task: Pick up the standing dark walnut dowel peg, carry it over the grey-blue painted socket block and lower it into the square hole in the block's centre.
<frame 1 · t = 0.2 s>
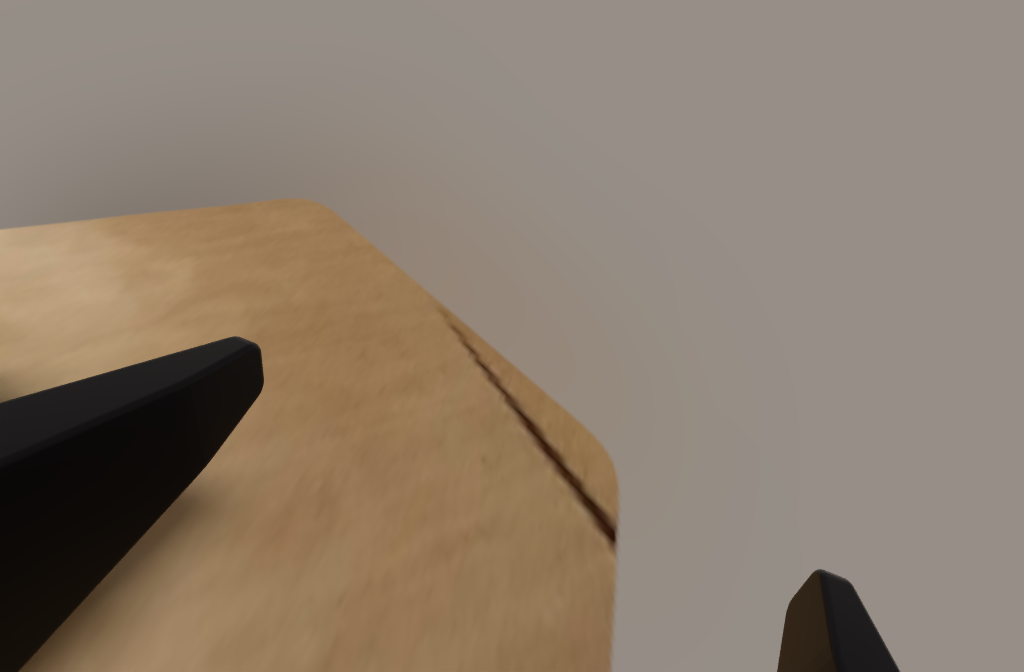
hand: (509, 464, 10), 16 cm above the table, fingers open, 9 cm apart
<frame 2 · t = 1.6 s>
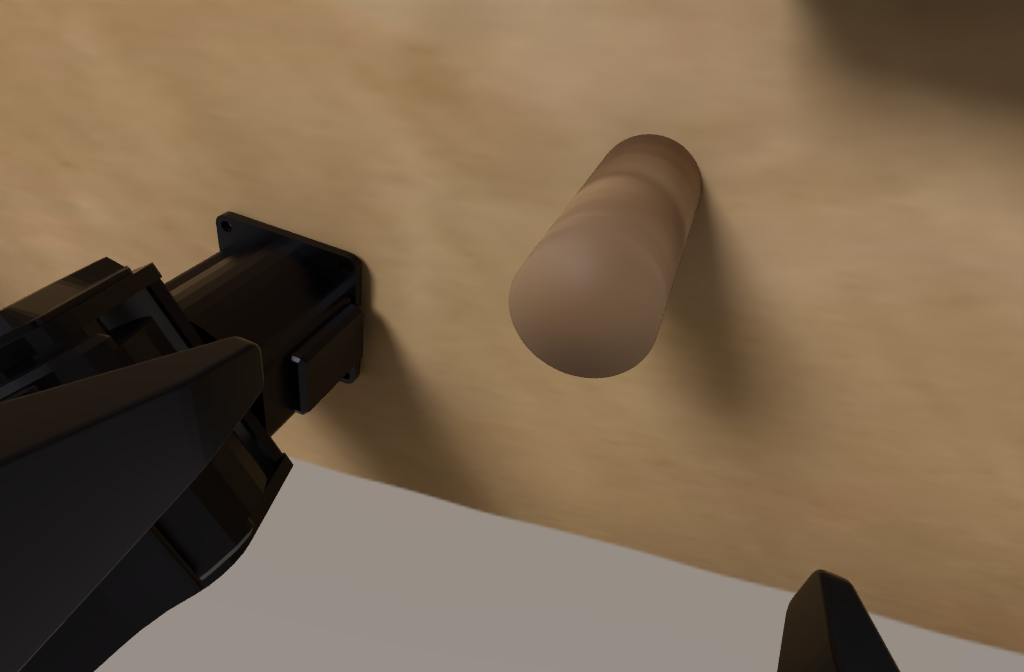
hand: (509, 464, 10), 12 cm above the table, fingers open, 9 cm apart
peg: (647, 187, 19), on the table
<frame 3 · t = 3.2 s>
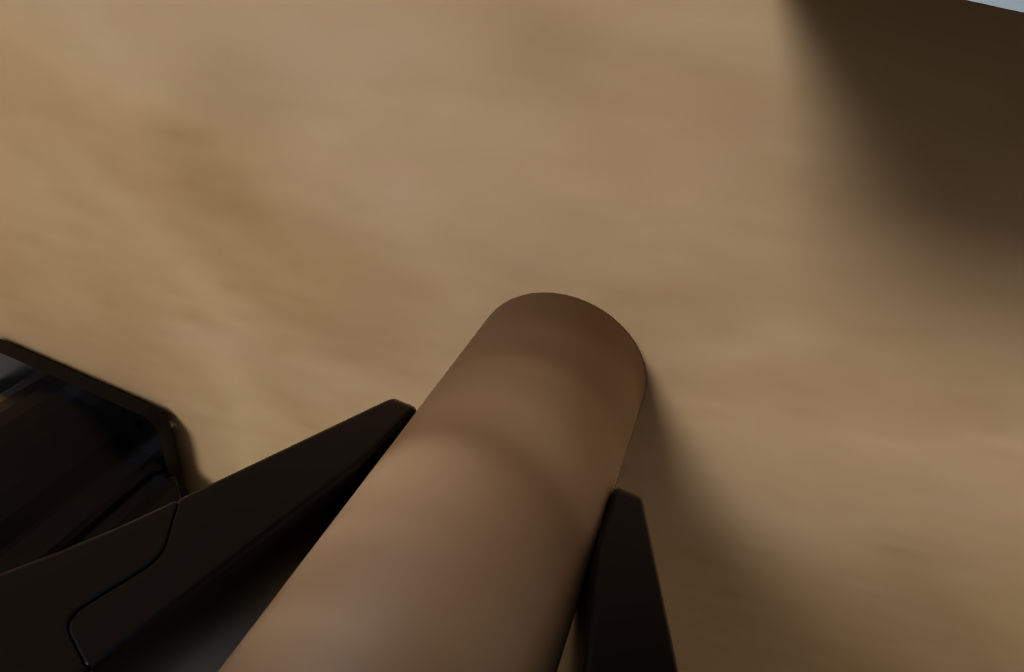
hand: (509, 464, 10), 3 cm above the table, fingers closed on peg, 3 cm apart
peg: (558, 369, 11), on the table, touching gripper
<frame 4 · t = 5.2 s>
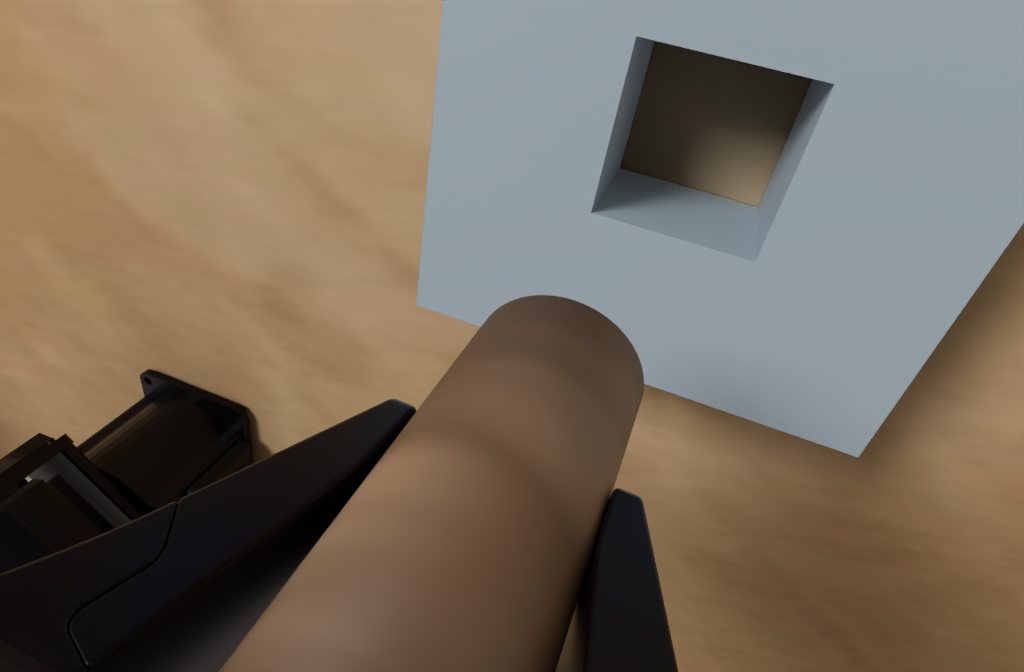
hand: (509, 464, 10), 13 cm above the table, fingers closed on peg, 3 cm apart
peg: (556, 372, 11), point 11 cm above the table, touching gripper
socket block: (712, 116, 18), on the table
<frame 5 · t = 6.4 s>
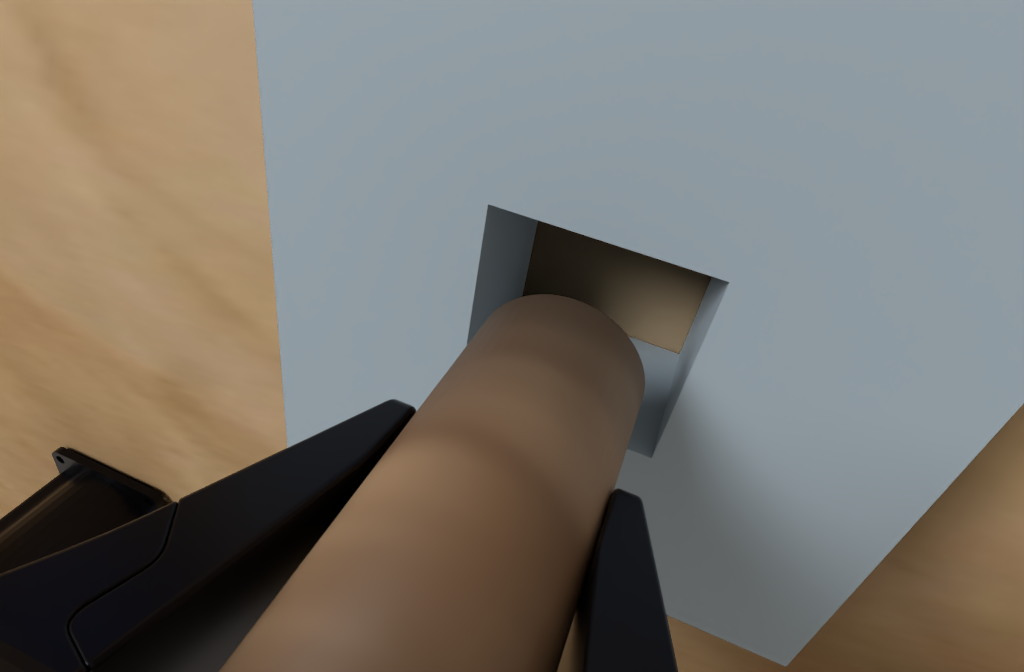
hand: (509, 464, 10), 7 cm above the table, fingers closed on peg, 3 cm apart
peg: (557, 371, 11), point 5 cm above the table, touching gripper
socket block: (620, 254, 15), on the table
when the fingers open (5 cm above the table, at t = 7.1 s): peg drops 3 cm, resting in socket block.
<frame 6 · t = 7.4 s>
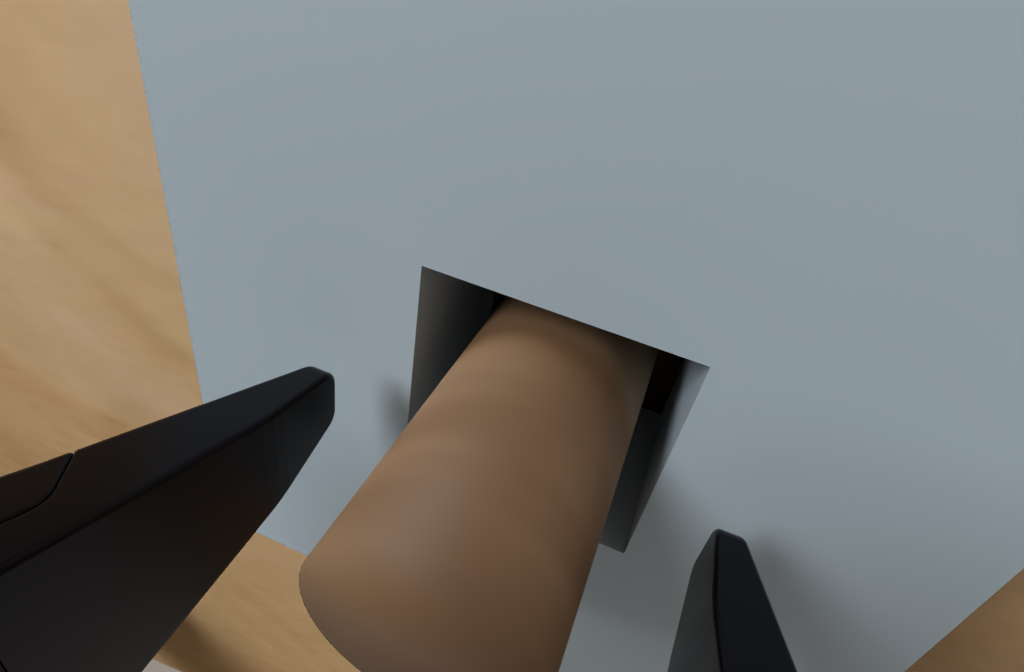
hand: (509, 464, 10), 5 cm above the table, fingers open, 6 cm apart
peg: (592, 305, 13), resting in socket block
socket block: (592, 304, 13), on the table
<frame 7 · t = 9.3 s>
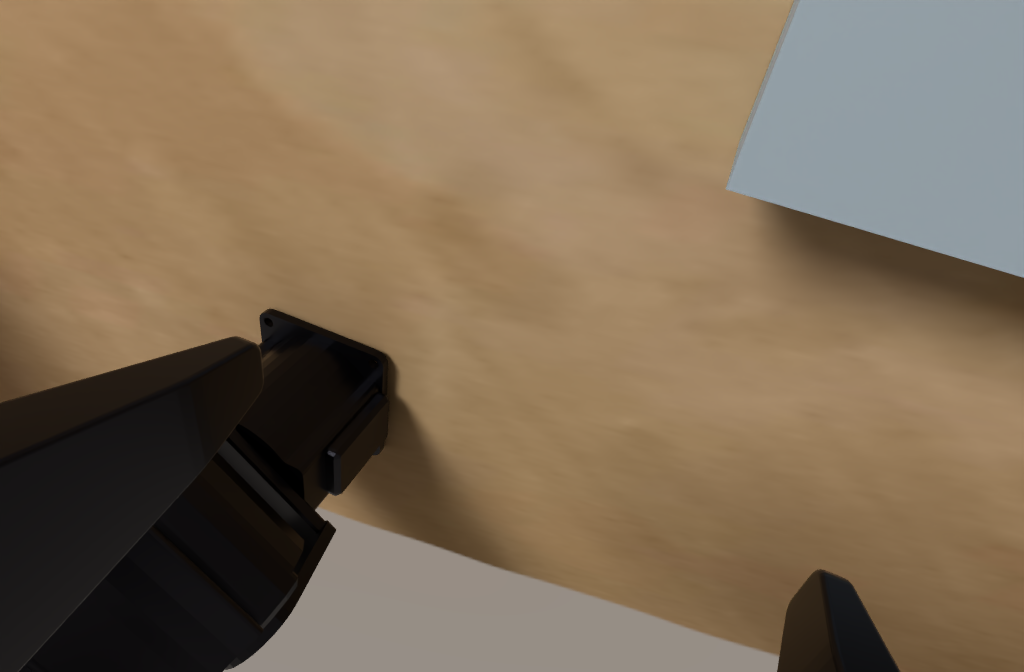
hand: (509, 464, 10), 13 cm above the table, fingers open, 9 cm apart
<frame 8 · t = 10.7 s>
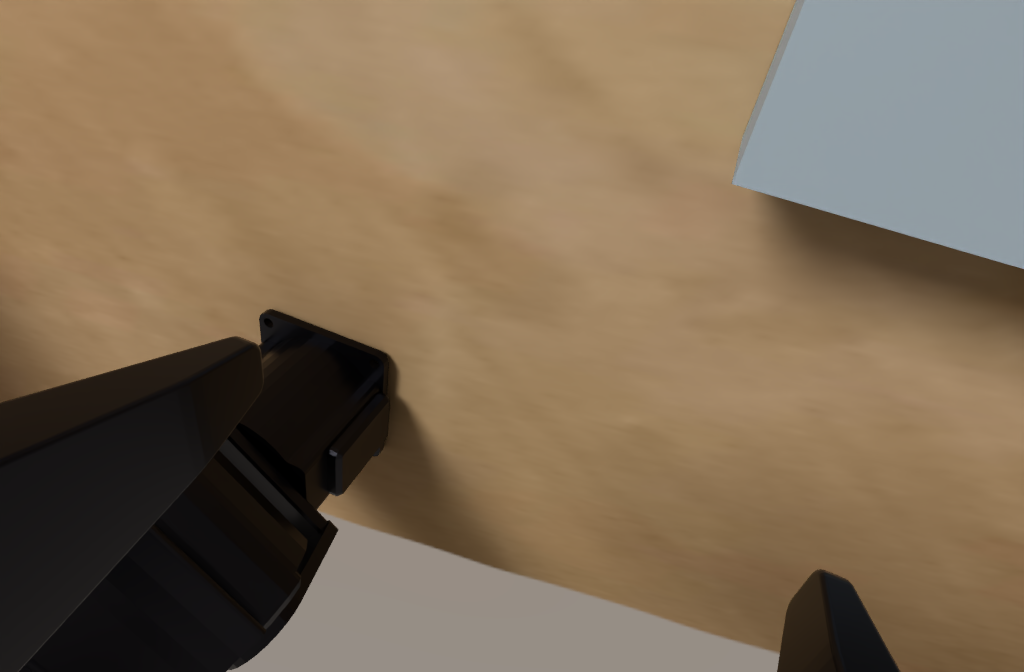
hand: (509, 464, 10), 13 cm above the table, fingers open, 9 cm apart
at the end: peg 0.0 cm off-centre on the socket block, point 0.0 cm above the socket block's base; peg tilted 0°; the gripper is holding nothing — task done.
